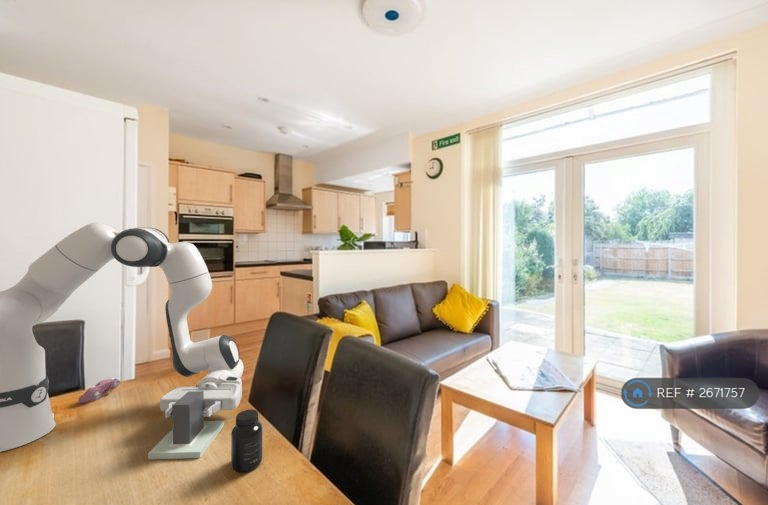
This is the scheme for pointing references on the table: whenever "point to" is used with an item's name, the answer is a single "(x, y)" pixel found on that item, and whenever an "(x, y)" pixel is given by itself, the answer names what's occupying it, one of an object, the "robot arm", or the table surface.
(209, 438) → the pin board
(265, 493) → the table surface
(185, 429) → the block
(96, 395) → the video game controller
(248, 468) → the supplement bottle
